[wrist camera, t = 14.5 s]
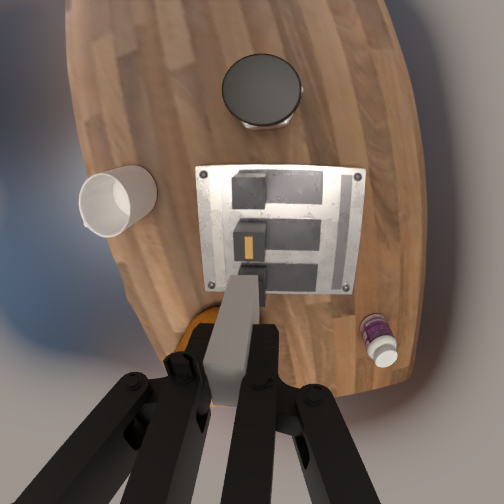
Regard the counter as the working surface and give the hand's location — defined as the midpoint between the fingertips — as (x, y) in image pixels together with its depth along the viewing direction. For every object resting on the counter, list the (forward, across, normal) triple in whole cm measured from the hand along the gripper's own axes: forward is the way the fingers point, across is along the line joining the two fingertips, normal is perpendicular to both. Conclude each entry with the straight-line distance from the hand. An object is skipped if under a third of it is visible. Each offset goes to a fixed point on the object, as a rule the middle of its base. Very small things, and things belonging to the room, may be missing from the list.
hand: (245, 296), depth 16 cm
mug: (+28, -23, +1) cm, 36 cm away
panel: (+28, +2, -6) cm, 28 cm away
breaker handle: (+25, -2, -6) cm, 26 cm away
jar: (+28, 0, +13) cm, 31 cm away
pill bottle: (+27, +20, -24) cm, 41 cm away
